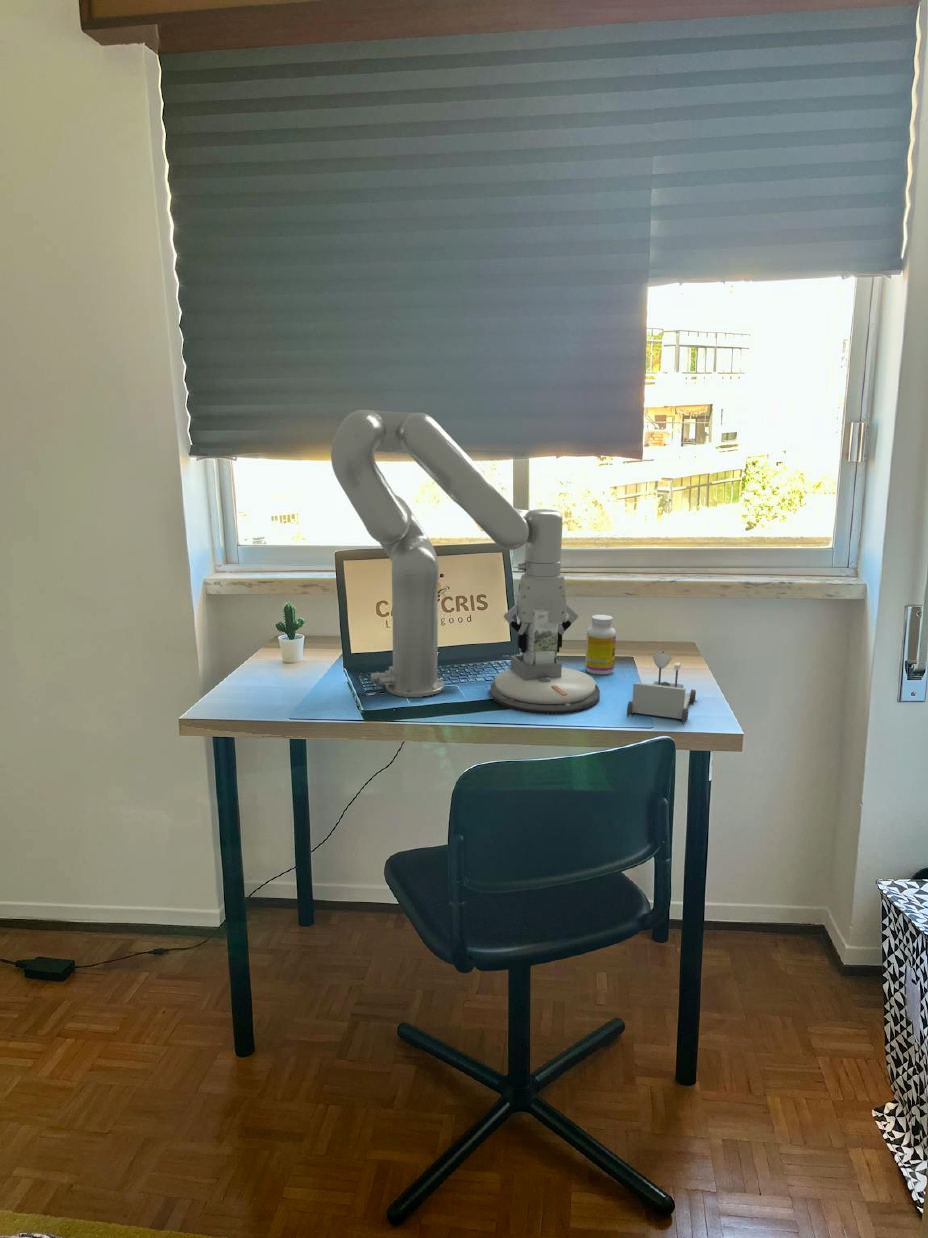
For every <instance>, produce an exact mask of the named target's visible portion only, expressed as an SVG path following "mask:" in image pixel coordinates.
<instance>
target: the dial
mask: <svg viewBox="0 0 928 1238" xmlns="http://www.w3.org/2000/svg"><path fill="white" fill-rule="evenodd" d="M494 681H495V688H496V690H497V691H498V692H499V693H501V694H502V695H504V696H506V697H509V698H512V699H515V700H519V701H523V702H529V703H537V704H564V703H573V702H578V701H581V700H584V699H587V698H589V697H591V696H592V695H593V694H594V692H595V685H596V681H595V679H594V677H592V676H591V675H589V674H587V673H585V672H582V671H579V670H577V669H573V668H568V667H563V664H562V663H561V662H560V660H559V661H558V660H557V659H556V663H555V664H543V665H532V666H526V665H525V664H524V663H522V654H518V655H510V667H509V669H505V670H504V671H501V672H499V673H498V674H497V675H496V676H495V679H494Z"/></svg>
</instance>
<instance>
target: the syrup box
mask: <svg viewBox="0 0 928 1238" xmlns="http://www.w3.org/2000/svg"><path fill="white" fill-rule="evenodd" d="M548 612H549V611H545V610H534V611H533V623H532V624H528V626H527V628H526V630H525V634H526V652H525V653H522V652H521V655H522V663H524V664H525V665H526V666H532V665H543V664H555V663H556V660H557V657H558V652H557V640H558V623H556V624H554V623H548Z"/></svg>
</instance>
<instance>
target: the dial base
mask: <svg viewBox="0 0 928 1238" xmlns="http://www.w3.org/2000/svg"><path fill="white" fill-rule="evenodd" d="M489 687H490V688H489V690H490V693H489V695H490V694H491V696H490V698H491V697H492V698H493V699H494V700H493V699H492V698H491V699H492V700H493V701H494V702H495V703H496V704H498V705H500V706H503V707H504V708H507V709H510V710H513V711H517V712H522V713H527V714H528V713H529V714H537V715H566V714H575V713H579V712H584V711H586V710H589V709H592V708H593V707H595V706H596V705H598V703H599V702H600V696H601V691H600V687H598V686H597V685H596V684H595V692H594V694H593V695H592V696H591V697H589V698H587V699H584V700H581V701H578V702H573V703H564V704H537V703H529V702H523V701H519V700H515V699H512V698H509V697H506V696H504V695H502V694H501V693H499V692H498V691H497V690H496V688H495V680H494V681H493V682H492V683H491V684H490V686H489Z"/></svg>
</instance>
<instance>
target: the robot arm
mask: <svg viewBox="0 0 928 1238" xmlns="http://www.w3.org/2000/svg"><path fill="white" fill-rule="evenodd" d="M375 452H380V453H382V452H384V453H396V454H397V453H398V454H401V453H403V454H408V455H409V457H410V458H411V459H413V461H415V463H416V464H417V465H418V466H420V468H421V469H423V471H424V472H425V473H426V474H427V475H428V476H429V477H430V478H431V479H432V480H433V481H434V482H435V483H436V484H437V486H439V487H440V489H441V490H442V491H444V493H445V494H447V496H448V497H449V498H450V499H451V500H452V501H453V502H454V503H455V504H457V505H458V506H459V507H461V509H462V510H463V511H465V513H466V514H467V515H469V517H470V518H471V519H472V521H474V522H475V523H476V524H477V525H478V526H479V527H480V528H481V529H482V530H483V531H484V533H485V534H487V535H488V536H489V538H490V539H491V540H492V541H493V542H494V543H495V544H496V545H497V546H499V547H500V548H501V549H505V550H506V551H507V550H508V551H512V550H513V551H514V550H518V549H520V548H521V547H523V546H524V547H525V548H524V561H523V562H521V563H517V570H518V571H523V573H522V574H521V576H520V578H519V579H520V580H519V585H518V591H517V600H516V604H514V605H513V606H512V607H511V608H509V610H507V612H505V613H503V618H504V620H505V621H506V622H507V623H508V625H510V626H511V627H512V629H513V630H515V632H517V648H518V649H519V650H520V651H521V654H522V653H525V652H526V634H525V630H526V628H527V626H528V624H532V623H533V611H534V610H545V611H549V612H548V623H554V624H556V623H558V640H557V653H560V648H562V647H563V635H564V634H565V631H567V630H568V629H569V628H570V627H571V625H572V624H573V623H574V622H575V621H576V620H577V619H578V617H579V615H578V614H577V613H576V612H575V611H574V610H573V609H572V608H570V606H569V605H567V591H566V590H567V589H566V580H565V576H564V575H563V574H561V569H562V568H561V567H562V546H563V545H562V543H563V542H562V541H563V539H562V538H563V516H562V513H561V512H560V511H558V510H556V509H555V510H554V509H546V508H545V509H542V508H541V509H539V508H538V509H533V510H529V509H520V508H516V507H514V506H513V505H512V504H511V503H510V502H509V501H508V500H507V499H506V498H505V496H504V495H502V494H501V492H500V491H499V490H498V489H497V488H496V487H495V486H494V484H493V483H492V482H491V481H490V480H489V479H488V477H487V476H486V475H485V473H484V472H483V470H482V469H481V468H480V467H479V465H478V464H477V463H476V462H475V461H474V460H473V459H472V457H470V455H468V454H467V453H466V451H464V449H462V447H461V446H460V445H459V444H458V443H457V442H456V441H455V440H454V439H453V438H452V437H451V436H450V435H449V434H448V432H446V430H445V429H444V428H443V427H442V426H441V425H440V424H439V423H438V422H437V421H436V419H434V418H433V417H432V416H430V415H429V414H427V413H424V412H411V411H410V412H405V411H403V412H402V411H388V410H386V411H385V410H376V409H375V410H372V409H357V410H356V411H352V412H351V413H349V414H348V415H347V416H345V418H344V419H343V420H342V422H341V423H340V424H339V426H338V429H337V430H336V433H335V435H334V437H333V439H332V443H331V449H330V459H331V462H330V463H331V467H332V470H333V473H334V475H335V477H336V479H337V481H338V482H337V483H339V485H340V487H341V489H342V491H343V492H344V493H345V495H346V497H347V498H348V500H349V502H350V503H351V504H350V505H352V507H353V508H354V510H355V512H356V513H357V516H358V517H359V518H360V520H361V521H362V523H363V526H364V527H365V529H366V531H367V533H368V535H369V536H370V537H371V538H372V539H374V540H375V541H376V542H379V544H380V546H381V548H382V549H383V551H384V552H385V553H386V555H387V557H388V559H389V560H390V561H391V597H392V599H391V601H392V603H391V606H392V607H391V608H392V611H391V613H392V614H391V615H392V666H391V665H390V666H388V670H385V671H384V672H372V673H370V682H371V683H378V682H379V685H385V690H386V691H387V692H388V693H389V694H392V695H395V696H398V697H404V698H424V697H423V696H427V697H429V696H428V695H431V694H436V695H438V694H440V693H441V691H442V690H443V691H444V690H445V688H444V687H445V682H444V681H443V680H442V679H441V678H439V677H438V645H439V644H438V643H439V641H438V638H439V637H438V635H439V633H438V632H439V631H438V624H439V623H438V621H439V619H438V617H439V616H438V611H439V609H438V608H439V607H438V604H439V603H438V602H439V580H440V579H439V577H440V575H439V573H440V568H439V565H440V564H439V559H438V556H437V553H436V550H435V547H434V545H433V544H432V542H431V541H430V539H429V538H428V536H427V534H426V532H425V531H424V529H423V528H422V526H421V524H420V522H418V520H417V518H416V516H415V515H414V513H413V512H412V510H411V508H410V507H409V505H408V504H407V502H406V501H405V500H404V499H403V498H401V497H400V496H398V495H396V493H394V491H393V489H392V487H391V486H390V485H389V483H388V482H387V480H386V477H385V475H384V474H383V472H382V471H381V470H380V468H379V466H378V465H377V463H376V459H375ZM567 614H568V617H567ZM515 615H516V617H517V618H518V620H519V622H518V623H517V622H516V620H514V619H513V616H515ZM443 691H442V692H443ZM439 692H440V693H439ZM437 693H438V694H437Z"/></svg>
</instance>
